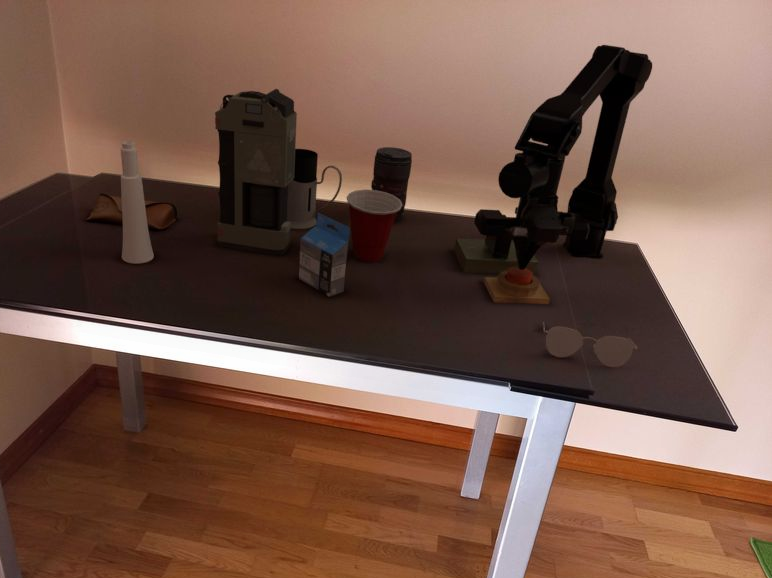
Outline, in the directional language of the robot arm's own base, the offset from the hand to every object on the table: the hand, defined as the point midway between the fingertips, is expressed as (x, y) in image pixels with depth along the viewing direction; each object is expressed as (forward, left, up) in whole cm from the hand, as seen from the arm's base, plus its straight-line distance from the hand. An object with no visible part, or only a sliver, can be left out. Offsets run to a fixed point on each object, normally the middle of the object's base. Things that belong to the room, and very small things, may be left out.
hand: (521, 268), depth 126 cm
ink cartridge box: (+36, 0, -5) cm, 36 cm away
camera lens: (+20, -36, -5) cm, 42 cm away
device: (+49, -17, -5) cm, 52 cm away
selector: (+1, -13, -2) cm, 13 cm away
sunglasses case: (+76, -28, -5) cm, 81 cm away
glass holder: (+38, -30, -5) cm, 49 cm away
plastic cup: (+26, -14, -5) cm, 30 cm away
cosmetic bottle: (+71, -9, -5) cm, 72 cm away
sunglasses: (-6, +19, -5) cm, 21 cm away
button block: (0, 0, -5) cm, 5 cm away
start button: (0, 0, -2) cm, 2 cm away
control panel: (+1, -13, -5) cm, 14 cm away
